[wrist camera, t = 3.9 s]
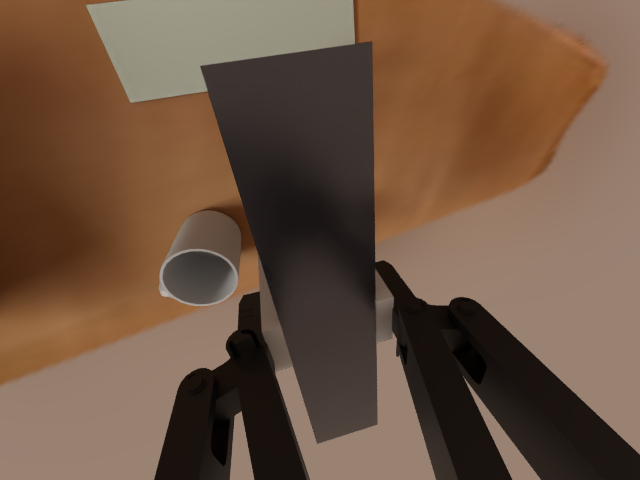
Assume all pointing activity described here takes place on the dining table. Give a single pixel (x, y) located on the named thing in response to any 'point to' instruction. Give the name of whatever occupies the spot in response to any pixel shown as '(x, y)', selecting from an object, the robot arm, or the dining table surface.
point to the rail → (311, 214)
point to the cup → (203, 260)
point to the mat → (209, 37)
